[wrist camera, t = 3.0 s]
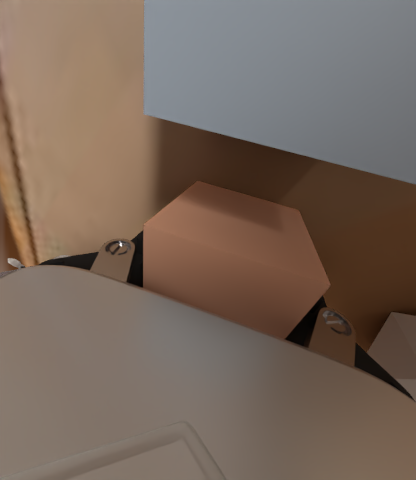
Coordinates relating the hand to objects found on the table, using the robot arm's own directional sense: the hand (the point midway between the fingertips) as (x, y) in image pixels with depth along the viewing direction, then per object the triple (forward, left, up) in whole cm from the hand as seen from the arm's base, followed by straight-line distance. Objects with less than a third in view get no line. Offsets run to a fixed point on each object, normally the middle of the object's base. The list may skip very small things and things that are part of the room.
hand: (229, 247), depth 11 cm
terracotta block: (0, 0, -1) cm, 1 cm away
